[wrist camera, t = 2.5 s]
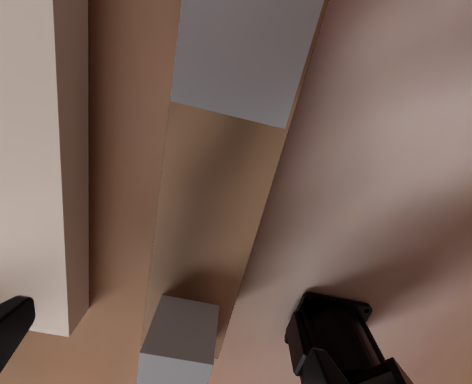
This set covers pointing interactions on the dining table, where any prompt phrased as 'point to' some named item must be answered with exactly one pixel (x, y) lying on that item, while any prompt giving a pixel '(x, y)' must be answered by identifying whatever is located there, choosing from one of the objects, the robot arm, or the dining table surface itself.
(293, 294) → the dining table surface
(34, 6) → the panel
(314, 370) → the robot arm
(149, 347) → the crate
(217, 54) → the crate
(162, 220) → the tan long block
